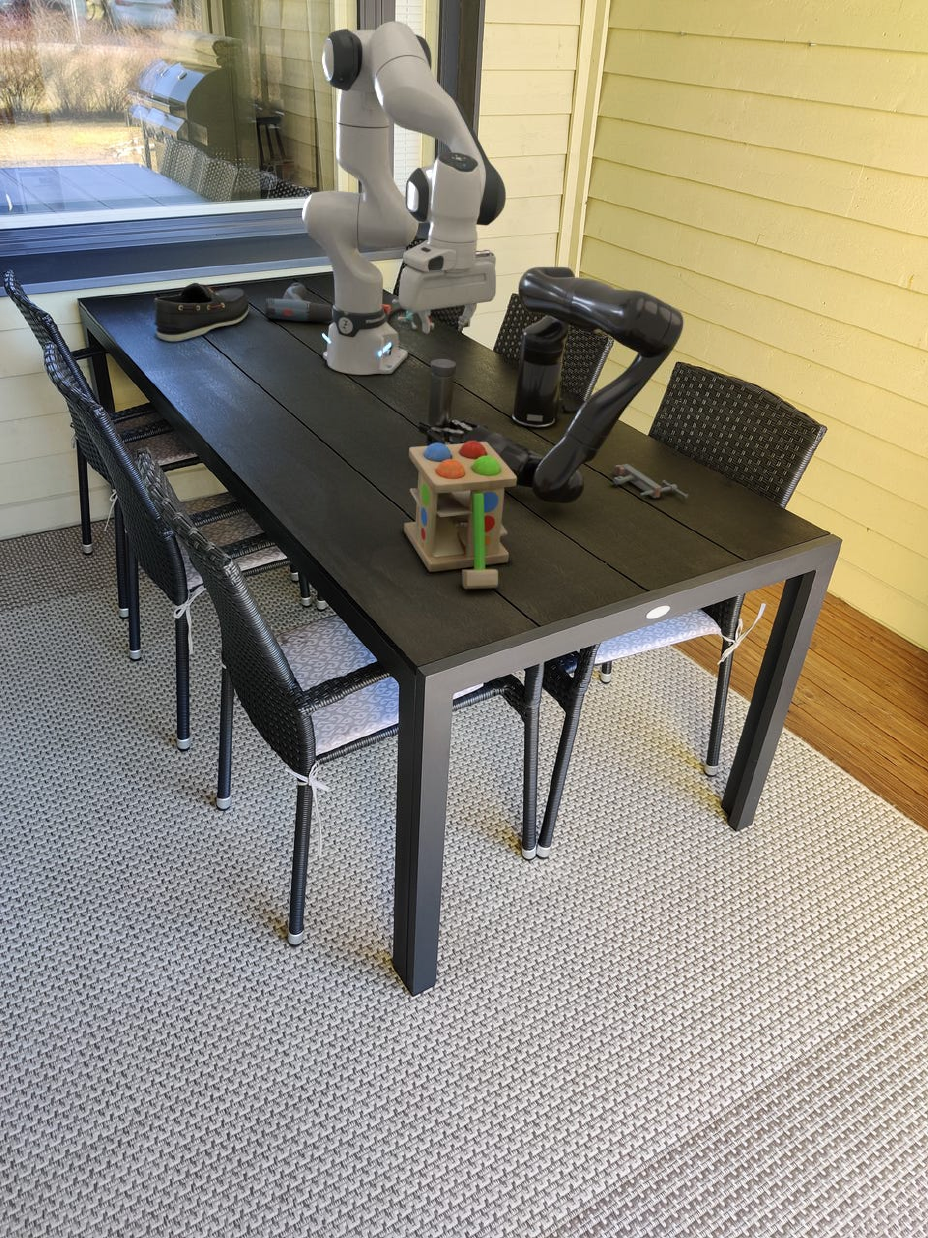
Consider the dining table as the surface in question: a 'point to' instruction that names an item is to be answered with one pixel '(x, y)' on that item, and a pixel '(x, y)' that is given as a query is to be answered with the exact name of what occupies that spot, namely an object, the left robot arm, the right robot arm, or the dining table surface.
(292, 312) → the power drill
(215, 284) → the dining table surface
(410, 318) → the molecular model
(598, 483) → the dining table surface
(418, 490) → the pounding bench toy
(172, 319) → the boat shoe
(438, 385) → the dark grey cylindrical bottle
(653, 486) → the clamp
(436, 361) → the lid
